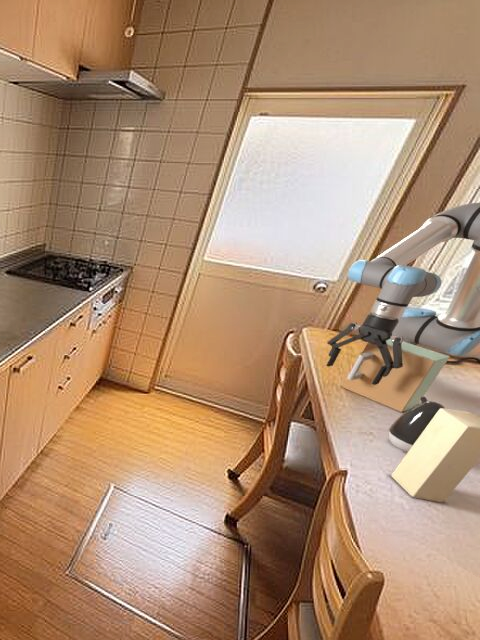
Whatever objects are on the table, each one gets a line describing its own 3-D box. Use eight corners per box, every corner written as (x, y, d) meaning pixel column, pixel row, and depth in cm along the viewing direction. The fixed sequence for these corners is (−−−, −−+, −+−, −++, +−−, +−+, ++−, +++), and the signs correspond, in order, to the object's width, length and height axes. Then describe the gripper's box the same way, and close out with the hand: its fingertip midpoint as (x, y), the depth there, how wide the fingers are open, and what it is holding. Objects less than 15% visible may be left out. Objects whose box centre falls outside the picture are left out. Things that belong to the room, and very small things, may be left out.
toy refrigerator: (447, 504, 99) (506, 432, 90) (412, 498, 100) (467, 426, 91) (422, 481, 106) (474, 412, 97) (390, 475, 107) (438, 407, 98)
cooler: (402, 411, 138) (436, 360, 130) (344, 387, 152) (371, 339, 143) (416, 406, 142) (450, 356, 134) (358, 382, 156) (385, 335, 147)
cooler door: (391, 415, 135) (424, 364, 126) (332, 390, 148) (358, 342, 140) (402, 411, 138) (435, 361, 130) (344, 386, 152) (370, 339, 143)
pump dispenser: (416, 442, 122) (447, 397, 115) (439, 463, 114) (474, 417, 107) (375, 433, 125) (402, 389, 118) (393, 453, 116) (424, 407, 109)
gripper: (334, 304, 141) (306, 360, 151) (429, 331, 122) (390, 394, 131) (345, 302, 144) (317, 357, 154) (441, 329, 125) (401, 390, 135)
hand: (351, 374), depth 143 cm, fingers open, 13 cm apart
